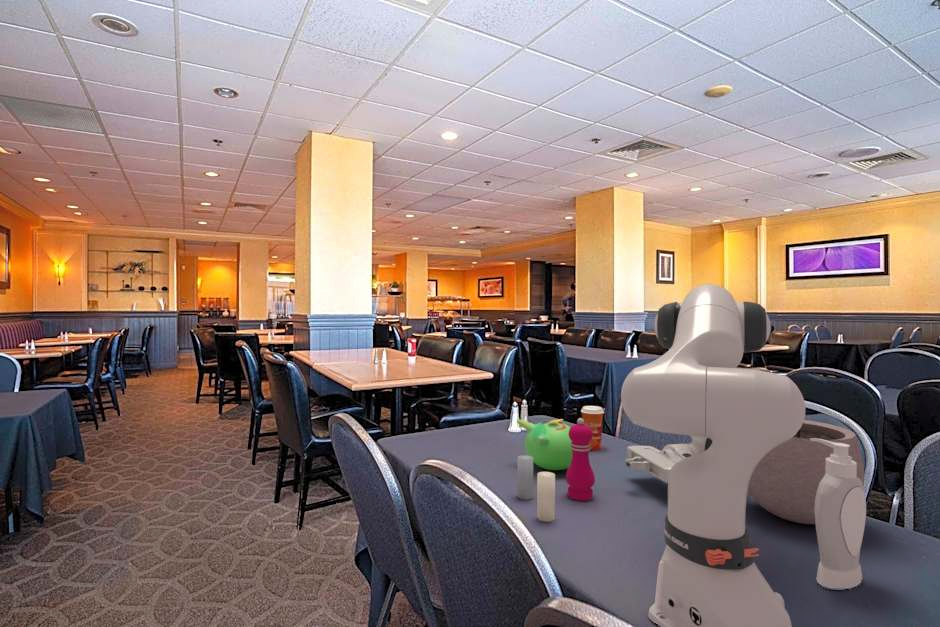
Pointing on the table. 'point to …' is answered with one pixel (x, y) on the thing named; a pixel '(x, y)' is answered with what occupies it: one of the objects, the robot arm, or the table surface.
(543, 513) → the cream post
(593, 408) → the paper cup
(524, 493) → the slate post
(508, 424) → the table surface
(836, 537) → the soap bottle
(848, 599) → the table surface
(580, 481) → the pepper mill
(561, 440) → the toy bird
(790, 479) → the plant pot
